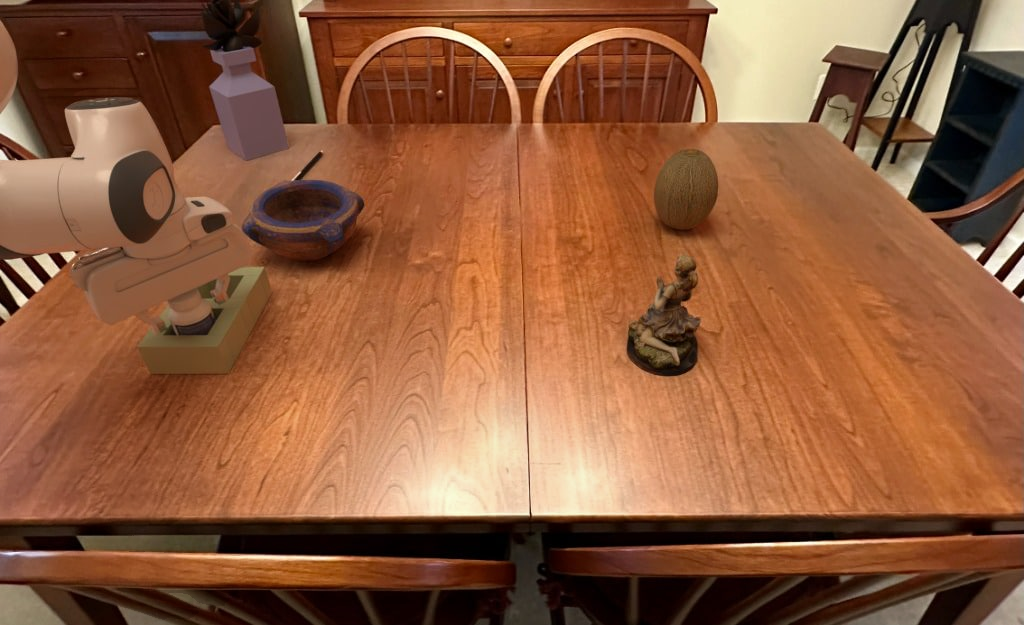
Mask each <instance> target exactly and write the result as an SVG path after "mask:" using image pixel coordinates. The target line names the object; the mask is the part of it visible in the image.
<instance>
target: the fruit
mask: <svg viewBox="0 0 1024 625" xmlns="http://www.w3.org/2000/svg"><path fill="white" fill-rule="evenodd" d="M718 195H719V176H718V173H717V170H716V166H715V164H714V163H713V161H712V159H711V158H710V156H709V155H708V154H707V153H705V152H704V151H702V150H700V149H695V148H685V149H681V150H678V151H677V152H675V153H673V154H672V155H671V156H670V157H668V159H667V160H666V161H665V162H664V164H663V165H662V167H661V169H660V171H659V172H658V175H657V178H656V181H655V184H654V190H653V202H654V207H655V210H656V213H657V215H658V217H659V219H660V220H661V221H662V222H663V224H664V225H666V226H667V227H669V228H671V229H673V230H674V229H675V230H680V231H681V230H683V231H684V230H689V229H690V230H691V229H693V228H695V227H697V226H699V225H700V224H702V223H703V222H704V221H705V220H706V219H708V217H709V216H710V214H711V213H712V211H713V209H714V208H715V206H716V203H717V200H718Z"/></svg>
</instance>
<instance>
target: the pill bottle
mask: <svg viewBox="0 0 1024 625" xmlns="http://www.w3.org/2000/svg"><path fill="white" fill-rule="evenodd" d="M166 302H167V306H168V305H169V307H170V310H169V312H168V318H169V321H170V323H171V325H172V327H173V329H174V331H175V334H176V335H208V333H209V331H210V330H211V328H212V327H213V325H214V323H215V322H216V319H215V316H214V313H213V311H212V308H211V306H210V304H209V303H208V302H207V301H206V300H204V299H202V298H201V295H200V293H199V291H198V289H197V288H195V289H192V290H190V291H188V292H186V293H183V294H181V295H179V296H177V297H174V298H172V299H170V300H168V301H166Z"/></svg>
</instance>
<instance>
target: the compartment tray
mask: <svg viewBox="0 0 1024 625" xmlns="http://www.w3.org/2000/svg"><path fill="white" fill-rule="evenodd" d="M228 274H229V277H230V281H229V285H228V288H227V291H226V294H227V296H228V299H229V301H227V302H225V303H223V304H221V305H218V304H217V303H215V302H214V300H213V296H212V295H211V293H210V291H212V290H214V289H215V287H216V282H217V279H215V280H213V281H210V282H208V283H206V284H204V285H201V286H199V287H197V289H198V291H199V293H200V295H201V298H202V299H204V300H206V301H207V302H208V303H209V304H210V306H211V308H212V311H213V313H214V316H215V319H216V322H215V323H214V325H213V327H212V328H211V330H210V331H209V333H208V335H176V334H175V331H174V329H173V327H172V325H171V323H170V321H169V318H168V312H169V310H170V307H169V305H168V304H167V306H166V307H165V308H164V310H163V311H162V312H161V314H160V315H159V317H160V318H161V319H162V320H163V321H164V323H165V326H166V327H167V330H166V331H164V332H162V333H159V334H157V335H156V334H155V333H154V332H153V331H152V329H151V328H149V330H148V331H147V332H146V334H145V335H144V336H143V338H142V339H141V341H140V342H139V343H138V344H137V346H136V349H137V350H138V353H139V354H140V356H141V358H142V361H143V362H144V364H145V367H146V368H147V369H148V372H149V373H150V375H229V374H230V372H231V370H232V369H233V367H234V365H235V363H236V361H237V359H238V358H239V356H240V354H241V351H242V349H243V348H244V346H245V344H246V343H247V341H248V339H249V337H250V335H251V333H252V331H253V329H254V328H255V325H256V323H257V322H258V320H259V318H260V316H261V314H262V313H263V311H264V309H265V307H266V305H267V304H268V301H269V299H270V297H271V296H272V294H273V290H272V287H271V284H270V280H269V277H268V274H267V270H266V267H265V266H244V267H242V268H240V269H237V270H235V271H233V272H231V273H228Z"/></svg>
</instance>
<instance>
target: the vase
mask: <svg viewBox="0 0 1024 625" xmlns="http://www.w3.org/2000/svg"><path fill="white" fill-rule="evenodd" d="M200 2H201V7H202V9H203V10H201V11H200V16H201V19H202V23H203V27H204V29H205V33H206V34H207V36H208V37H209V38H210V39H211V40H213V42H211V43H208V44H203V45H201V47H202V48H204V49H206V50H208V51H209V53H210V55H211V59H212V61H213V62H214V63H216V64H218V65H220V66H221V68H222V72H221V73H220V75H218V77H217V78H216V79H215V80H214V81H213V82H212V83H211V84H210V85H209V86H208V88H209V91H210V94H211V98H212V100H213V104H214V107H215V111H216V113H217V118H218V120H219V123H220V127H221V130H222V134H223V137H224V140H225V143H226V147H227V149H228V150H230V151H231V152H232V153H234V154H236V155H237V156H238V157H240V159H243V160H244V161H246V162H248V161H250V160H251V161H252V160H254V159H257V158H261V157H265V156H268V155H271V154H274V153H277V152H278V153H279V152H280V151H284V150H288V149H290V145H289V141H288V137H287V133H286V130H285V125H284V121H283V116H282V113H281V108H280V105H279V99H278V96H277V95H278V94H277V92H276V87H275V86H274V85H273V84H271V83H270V82H269V81H267V80H265V79H264V78H262V77H261V76H260V75H258V74H257V73H255V72H253V70H252V66H251V63H253V62H257V57H256V53H255V50H254V49H256V48H258V47H259V46H261V45H263V43H264V42H263V40H262V39H261V38H258V37H256V35H257V34H258V32H259V30H260V26H261V8H260V6H257V8H256V9H255V11H254V12H253V14H251V16H250V17H249V18H248V19H247V11H246V7H245V6H243V7H242V5H241V3H240V1H239V0H233V3H232V0H211V1H209V2H206V5H205V3H204V2H203V1H200ZM246 19H247V20H246ZM239 27H240V28H239ZM238 28H239V29H238ZM237 29H238V30H237Z"/></svg>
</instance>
